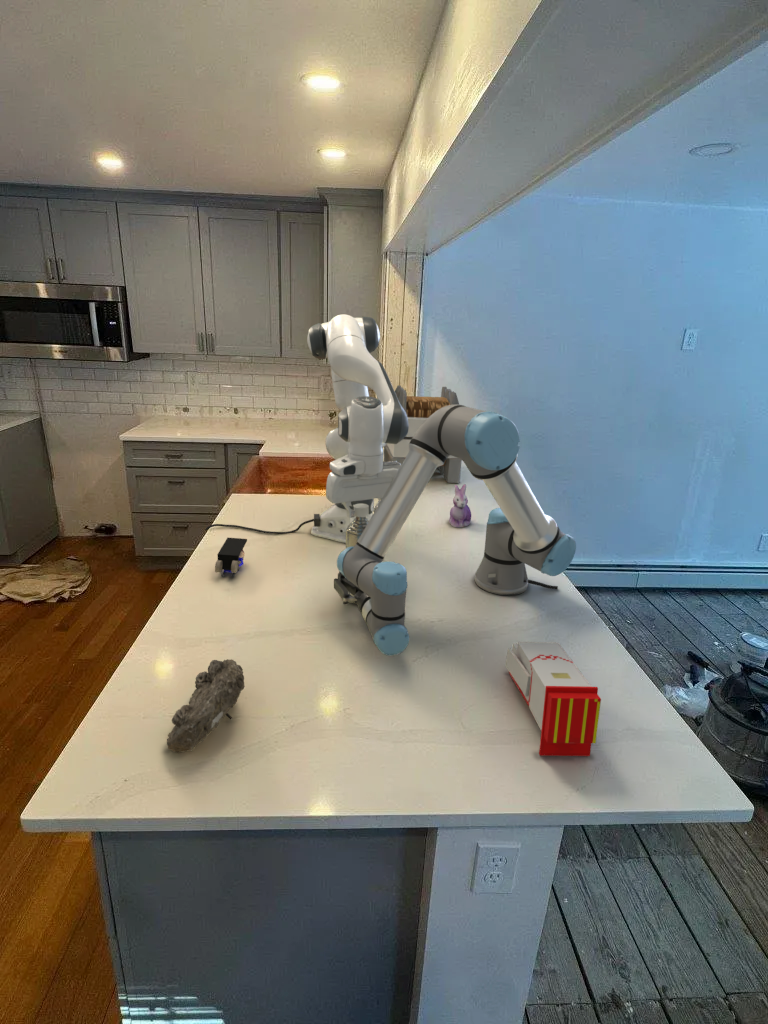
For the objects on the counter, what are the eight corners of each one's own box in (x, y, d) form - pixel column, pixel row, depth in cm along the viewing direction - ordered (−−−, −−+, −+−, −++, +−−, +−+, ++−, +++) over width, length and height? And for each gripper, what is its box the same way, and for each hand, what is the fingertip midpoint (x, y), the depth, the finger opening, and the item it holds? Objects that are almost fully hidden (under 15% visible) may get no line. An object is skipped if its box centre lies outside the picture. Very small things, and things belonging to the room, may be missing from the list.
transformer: (382, 463, 289) (386, 382, 275) (445, 464, 293) (451, 384, 279) (390, 482, 257) (394, 392, 243) (460, 483, 261) (468, 394, 247)
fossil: (192, 660, 117) (244, 628, 112) (224, 691, 120) (276, 661, 115) (142, 746, 98) (202, 712, 93) (182, 779, 101) (242, 748, 96)
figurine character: (238, 584, 162) (249, 557, 175) (236, 562, 158) (247, 536, 172) (215, 584, 161) (227, 556, 175) (212, 561, 158) (225, 535, 171)
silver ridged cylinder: (347, 605, 151) (349, 513, 142) (342, 591, 158) (343, 503, 149) (375, 602, 153) (379, 512, 144) (369, 589, 160) (372, 502, 151)
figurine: (457, 529, 205) (460, 490, 200) (441, 520, 214) (444, 482, 209) (478, 526, 210) (482, 487, 205) (462, 517, 218) (465, 480, 213)
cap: (371, 513, 148) (371, 505, 147) (364, 518, 145) (364, 509, 144) (357, 511, 149) (358, 502, 149) (350, 515, 146) (351, 506, 145)
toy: (554, 624, 127) (610, 694, 97) (548, 679, 130) (602, 763, 100) (500, 623, 126) (541, 693, 97) (496, 678, 129) (534, 763, 100)
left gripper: (395, 456, 150) (393, 506, 154) (323, 463, 140) (323, 515, 145) (407, 462, 144) (404, 513, 149) (333, 470, 135) (332, 524, 140)
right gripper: (334, 627, 135) (318, 583, 156) (415, 618, 141) (390, 577, 161) (334, 599, 133) (318, 559, 153) (417, 591, 138) (391, 553, 159)
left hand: (364, 514), depth 147 cm, fingers open, 6 cm apart
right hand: (355, 568), depth 157 cm, fingers closed on silver ridged cylinder, 8 cm apart
